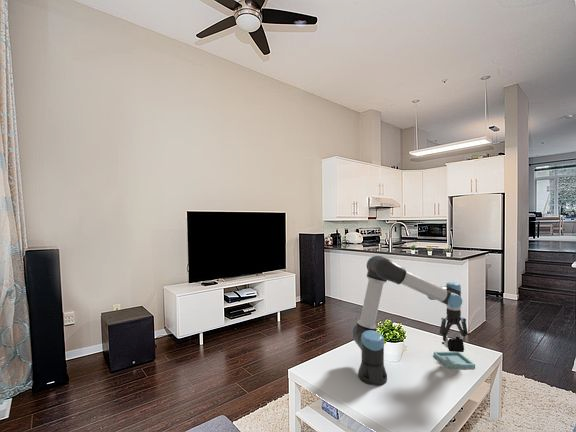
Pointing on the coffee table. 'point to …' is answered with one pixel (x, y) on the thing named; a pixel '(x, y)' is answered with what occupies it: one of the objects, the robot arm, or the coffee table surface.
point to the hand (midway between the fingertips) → (453, 346)
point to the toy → (455, 345)
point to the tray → (454, 360)
